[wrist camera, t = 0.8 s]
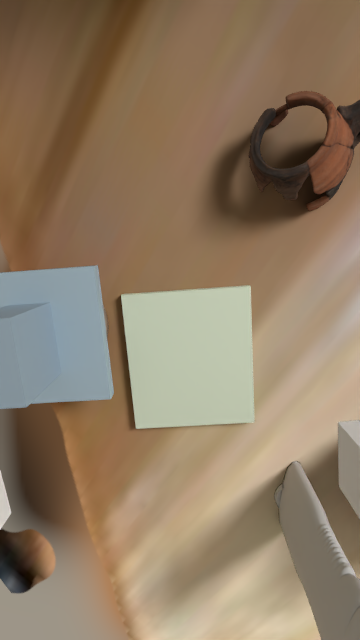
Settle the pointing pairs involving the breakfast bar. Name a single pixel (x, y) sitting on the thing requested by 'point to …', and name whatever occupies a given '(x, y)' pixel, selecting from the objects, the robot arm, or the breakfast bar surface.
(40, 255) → the breakfast bar surface
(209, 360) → the mat
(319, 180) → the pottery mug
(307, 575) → the tall pale column
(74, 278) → the lid
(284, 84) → the breakfast bar surface
